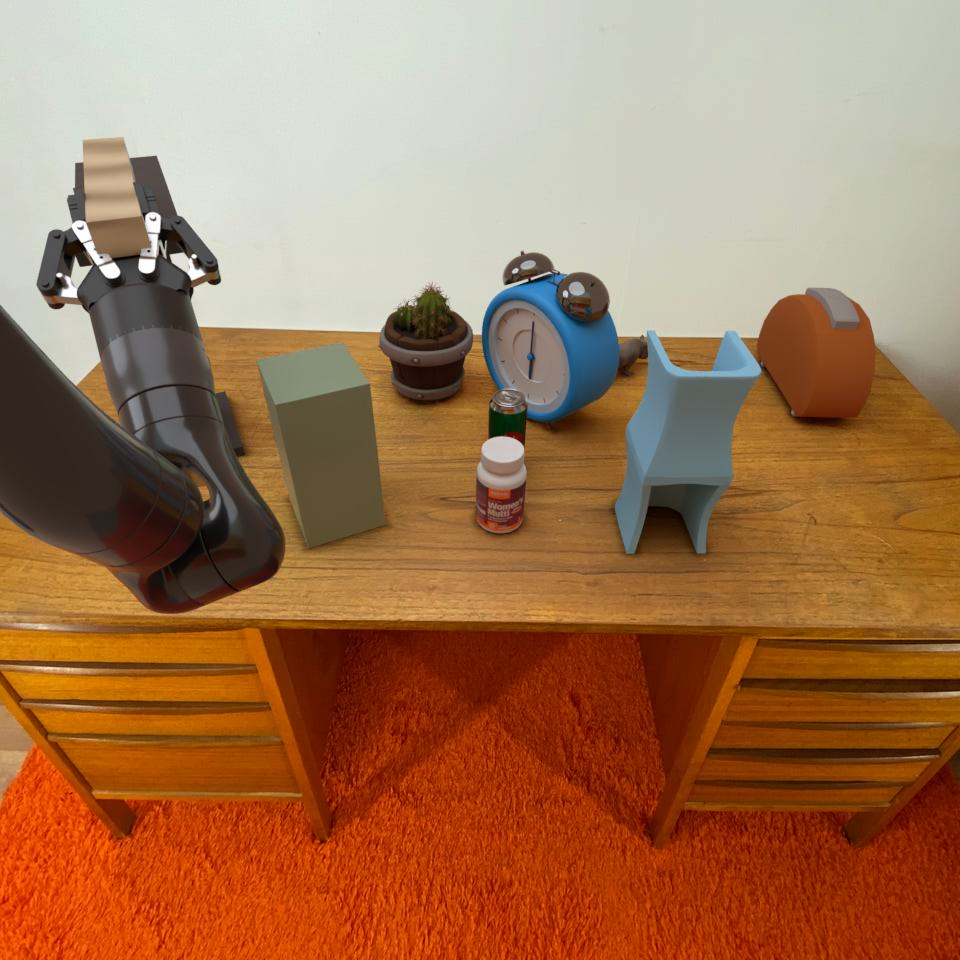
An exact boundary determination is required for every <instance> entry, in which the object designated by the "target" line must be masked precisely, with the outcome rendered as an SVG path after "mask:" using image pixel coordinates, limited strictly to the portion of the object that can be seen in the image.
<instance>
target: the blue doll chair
mask: <svg viewBox="0 0 960 960" xmlns="http://www.w3.org/2000/svg"><path fill="white" fill-rule="evenodd" d="M646 342H647V346H648V358H647V379H646V387H645V390H644V392H643V396H642V398H641V401H640V403H639V405H638V407H637V409H636V411H635V412H634V414H633V415H632V417H631V418H630V420H629V421H628V422H627V424H626V427H625V445H626V469H625V472H626V473H625V477H624V482H623V485H622V487H621V491H620V493H619V496H618V497H617V500H616V502H615V504H614V513H615V517H616V520H617V523H618V527H619V528H618V529H619V531H620V535H621V539H622V543H623V546H624V547H623V548H624V550H625V554H626V555H635V553H636V550H637V548H638V543H639V542H640V538H641V534H642V531H643V528H644V524H645V520H646V517H647V512H648V508H649V507H665V508H669V509H671V510H673V511H676V512H678V513H679V514H681V516H682V518H683V521H684V523H685V526H686V528H687V532H688V534H689V537H690V539H691V541H692V545H693V547H694V549H695V552H696V554H697V555H699V554H707V535H708V534H707V533H708V526H709V522H710V518H711V515H712V513H713V511H714V509H715V508H716V505H717V504H718V502H719V501H720V499H721V498H722V496H723V495H724V493H725V492H726V491H727V490H728V489H729V487H730V486H731V485H732V481H733V479H734V467H733V456H732V455H733V454H732V453H733V452H732V451H733V450H732V448H733V447H732V443H733V434H734V428H735V423H736V422H737V418H738V416H739V413H740V411H741V408H742V406H743V404H744V402H745V401H746V399H747V397H748V395H749V393H750V392H751V390H752V389H753V387H754V386H755V384H756V383H757V381H758V379H759V378H760V376H761V374H762V368H761V366H760V364H759V363H758V361H757V360H756V358H755V357H754V356H753V353H752V352H751V351H750V350H749V348H748V347H747V345H746V343H744V341H743V339H742V338H741V337H740V335H739V334H738V333H737V331H736V330H726V331H725V333H724V334H723V337H722V340H721V342H720V344H719V345H720V346H719V348H718V351H717V354H716V356H715V360H714V361H713V362H714V363H713V366H712V368H711V370H709V371H708V370H689V369H684V368H682V367H679V366H677V365H674V364H673V363H672V362H671V360H670V358H669V357H668V354H667V353H666V350H665V348H664V346H663V345H662V342H661V340H660V338H659V336H658V334H657V332H656V330H655V329H654V330H653V329H652V330H646Z"/></svg>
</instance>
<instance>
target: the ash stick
mask: <svg viewBox="0 0 960 960" xmlns="http://www.w3.org/2000/svg"><path fill="white" fill-rule="evenodd" d="M82 157H83V158H82V160H83V161H82V162H83V164H84V189H85V214H86V224H87V227H88V230H89V233H90V235H91V238H92V241H93V243H94V246H95V249H96V252H97V254H98V255H99V254H107V253H108V254H109V255H110V257H111V258H119V257H127V256H134V255H140V253H141V249H144V248H151V247H152V246H151V243H150V239H149V236H148V232H147V228H146V225H145V220H144V217H143V214H142V211H141V207H140V204H139V200H138V197H137V196H136V193H135V189H134V186H133V182H136V180H135V176H134V171H133V167H132V164H131V161H130V158H131V157H130V154H129V151H128V147H127V143H126V141H125V138H124V137H123V136H118V137H116V136H115V137H104V138H103V137H102V138H90V139H82Z"/></svg>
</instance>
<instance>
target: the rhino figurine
mask: <svg viewBox="0 0 960 960" xmlns="http://www.w3.org/2000/svg"><path fill="white" fill-rule="evenodd" d="M644 339H645V335H644V334H641V336H639V338H637V337H636V338H630V339H627V340H626V341H622V342H620V343H619V365H618V370H622V374H623V375H625V376H627V377H630V376H631V375H632V372H631V371H630V368H631V367H633V365H634V364H635V363H636V362H637V361H638V359H639V360H648V346H647V341H645V340H644Z"/></svg>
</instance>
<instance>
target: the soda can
mask: <svg viewBox="0 0 960 960" xmlns="http://www.w3.org/2000/svg"><path fill="white" fill-rule="evenodd" d="M527 409H528V404H527V401H526V400H525V395H524V394H523V393H522V392H520V391H518V390H515V389H500V390H498V389H497V390H496V391H494V392H493V394H492V396H491V399H490V400H489V403H488V423H487V424H488V427H487V429H488V430H487V440H489V439H491V438H494V437H510V438H513V439H516V440H518V441H519V442H520V443H521V444H522V445H523V447H524V450H525V449H526V448H525V447H526V435H527V421H528V418H527Z"/></svg>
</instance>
